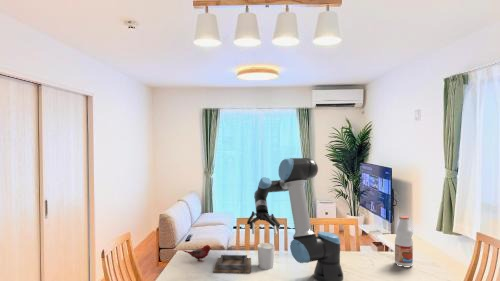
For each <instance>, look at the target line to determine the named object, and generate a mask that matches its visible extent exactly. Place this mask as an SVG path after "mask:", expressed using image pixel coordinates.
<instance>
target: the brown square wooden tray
mask: <svg viewBox="0 0 500 281" xmlns="http://www.w3.org/2000/svg"><path fill="white" fill-rule="evenodd" d="M251 262H252V258H251V257H248V255H247V254H221V255H220V257H217V259H216V262H215V264H214V268H213V271H212V274H250V272H251Z"/></svg>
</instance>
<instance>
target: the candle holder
mask: <svg viewBox="0 0 500 281" xmlns="http://www.w3.org/2000/svg"><path fill="white" fill-rule="evenodd" d="M256 247H257V259H258V267H259V269H261V270H271V269H273V268H274V262H275V244H273V243H270V242H261V243H259V244H257V246H256Z"/></svg>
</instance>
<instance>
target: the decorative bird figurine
mask: <svg viewBox="0 0 500 281" xmlns="http://www.w3.org/2000/svg"><path fill="white" fill-rule="evenodd" d="M210 250H212V248H211V247H210V245H209V244H207V245H204V246H202V247H201V248H198V249H193V250H191V251H188V250H182V252H185V253H187V254H189V255H190V256H191V257H193V258H194V259H197V260H196V261H197V262H202V263H203V260H202V259H205V258H206V257H207V256H208V255H209V252H210Z"/></svg>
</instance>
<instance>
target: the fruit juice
mask: <svg viewBox="0 0 500 281" xmlns="http://www.w3.org/2000/svg"><path fill="white" fill-rule="evenodd" d="M409 217H410V216H407V215H400V216H399V222H398V225H397V226H396V227H395V238H394V264H395V263H396V264H398V265H402V266H411V265H412V264H413V261H414V260H413V259H414V258H413V257H414V256H413V253H414V252H413V251H414V248H413V247H414V246H413V244H414V241H413V238H412V237H413V234H414V233H413V230H412V228H411V226H410V223H409ZM396 264H395V265H396ZM398 265H397V266H398ZM413 265H414V264H413ZM413 265H412V266H413Z"/></svg>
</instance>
